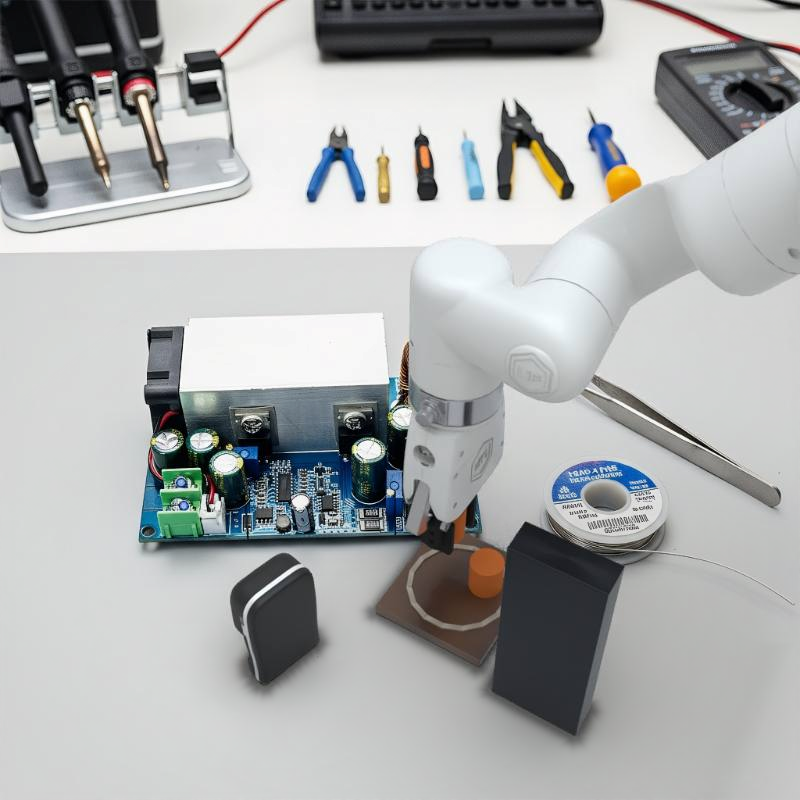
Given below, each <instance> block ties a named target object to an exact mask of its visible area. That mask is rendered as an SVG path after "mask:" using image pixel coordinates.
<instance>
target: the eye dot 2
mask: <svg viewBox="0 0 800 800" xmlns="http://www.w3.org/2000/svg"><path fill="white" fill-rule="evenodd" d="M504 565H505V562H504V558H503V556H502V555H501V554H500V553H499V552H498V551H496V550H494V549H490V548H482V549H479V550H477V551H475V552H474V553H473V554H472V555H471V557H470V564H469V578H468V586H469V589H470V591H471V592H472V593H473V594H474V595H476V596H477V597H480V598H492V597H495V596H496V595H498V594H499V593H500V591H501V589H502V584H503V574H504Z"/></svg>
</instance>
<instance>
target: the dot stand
mask: <svg viewBox="0 0 800 800" xmlns="http://www.w3.org/2000/svg"><path fill="white" fill-rule="evenodd" d="M506 552H507V554H506V563H505V573H504V582H503V591H502V600H501V609H500V618H499V628H498V637H497V640H496V647H495V655H494V665H493V673H492V674H493V675H492V684H491V692H493V693H494V694H497V695H498V696H500V697H502V698H504V699H505V700H507V701H509V702H511V703H513V704H515V705H517V706H518V707H521V708H522V709H524V710H526V711H528V712H530V713H532V714H534V715H535V716H537V717H539V718H541V719H542V720H544V721H546V722H548V723H550V724H551V725H553V726H555V727H558V728H560V729H561V730H563V731H565V732H567V733H569V734H571V735H573V736H577V734H578V733H579V730H580V728H581V727H582V725H583V722H584V721H585V719H586V717H587V715H588V713H589V712H590V709H591V707H592V702H593V698H594V695H595V690H596V687H597V681H598V677H599V673H600V669H601V665H602V662H603V657H604V653H605V649H606V645H607V640H608V637H609V633H610V629H611V625H612V620H613V616H614V612H615V608H616V604H617V599H618V596H619V591H620V588H621V584H622V579H623V575H624V571H625V568H626V567H625V565H623V564H621V563H620V562H617V561H615V560H612V559H610V558H608V557H606V556H603V555H602V554H599V553H597V552H595V551H592V550H590V549H588V548H586V547H584V546H582V545H580V544H577V543H575V542H572V541H570V540H568V539H567V538H564V537H562V536H559V535H557V534H555V533H553V532H550V531H548V530H546V529H544V528H542V527H539V526H537V525H535V524H533V523H531V522H529V521H527V520H525V521H524V522H523V524H522V525H521V526H520V528H519V529H518V531H517V532H516V534H515V535H514V537H513V538H512V540H511V541H510V542H509V544H508V546H507V547H506Z"/></svg>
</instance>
